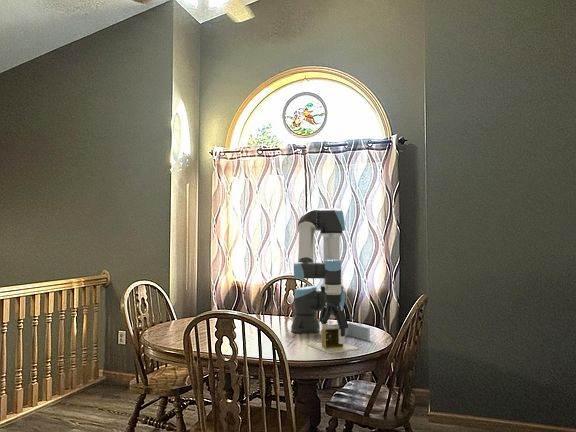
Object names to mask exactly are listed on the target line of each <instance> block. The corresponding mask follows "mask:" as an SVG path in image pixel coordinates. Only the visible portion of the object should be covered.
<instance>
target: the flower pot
mask: <svg viewBox="0 0 576 432" xmlns="http://www.w3.org/2000/svg"><path fill="white" fill-rule="evenodd" d="M326 332H327V333H326ZM320 335H321V339H320V340H321V343H322V346H323V347H324V348H325V349H332V348H343V344H339V328H330V329H322V328H321V329H320Z"/></svg>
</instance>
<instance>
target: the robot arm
mask: <svg viewBox="0 0 576 432" xmlns="http://www.w3.org/2000/svg"><path fill="white" fill-rule="evenodd" d="M296 228H297V232H298V233H299V234H298V253H297V254H298V255H297V256H298V257H297V258H298V259H297V261H298V262H294V263H293V277H294V278H295V279H306V280H307V279H318V280H319V279H320V280H321V279H323V280H322V281H323V282H322V284H320V288H317V287H318V286H315V285H310V286H309V285H308V286H303V287H302V286H301V287H299V288H296V289H294V290H295V291H294V297H293V299H294V316H293V320H292V324H291V327H290V331H291V333H295V334H302V335H303V334H305V335H307V334H316V333H319V332H321V330H322V329H328V325H329V324H328V321H329V319H330V317H331V316H334V317H335V320H336V322H337V323H336V324H338V325H339V327H340V328H339V344H344V343H345V344H346V336H345V329H346V328H348V324H347V323H348V320H347V316H346V314H345V313H346V312H345V300H346V289H345V288H344V287H343V284H342V268H343V267H342V260H341V258H340V256H341V255H340V254H341V253H340V249H341V248H340V245H341V244H340V241H341V240H340V238H341V236H342V235H343V232H344V231H346V224H345V215H344V211H343V210H342V209H341V208H312V209H309V210H307V211H306V212H305V213H303V214H302V215H301V217H300V218H299V220H298V222H297V227H296ZM316 231H320V235H321V236H322V237H323V243H322V244H323V246H322V247H323V248H322V249H323V262H315V261H314V259H315V258H314V256H315V253H314V251H315V246H314V245H315V242H314V241H315V238H314V235H315V232H316ZM317 312H320V315H319V319H318V317H317V316H318V315H317ZM319 322H320V323H321V328H320V323H319ZM326 333H327V332H326Z"/></svg>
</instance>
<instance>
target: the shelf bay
mask: <svg viewBox="0 0 576 432" xmlns="http://www.w3.org/2000/svg"><path fill="white" fill-rule="evenodd" d="M347 324H348V328H346V329H345V337H348V336H351V337H354V338H357V339H361V340H363V341H364V340H365V341H370V340H371V339H370V338H371V337H370V336H371V333H370V330H371V329H370V327H367V326H363V325H360V324H356V323H352V322H347ZM330 328H340V327H339V325H338V323H336V324H328V329H330Z"/></svg>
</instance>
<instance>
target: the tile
mask: <svg viewBox="0 0 576 432" xmlns="http://www.w3.org/2000/svg"><path fill="white" fill-rule="evenodd" d="M307 346H308V347H311V348H314V349H315V350H319V351H321V352H324V353H327V354H335V353H336V354H337V353H343V352H344V353H345V352H351V351H359V350H360V348H359V347H356V346H354V345H351V344H348V343H346V342H345V343H344V344H343V348H332V349H325V348H324V347H323V346H322V342H315V343H308V344H307Z"/></svg>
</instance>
